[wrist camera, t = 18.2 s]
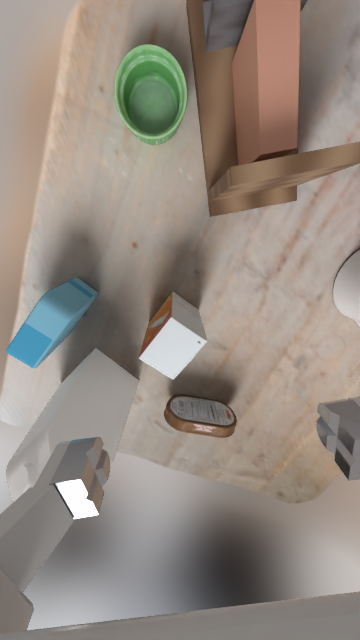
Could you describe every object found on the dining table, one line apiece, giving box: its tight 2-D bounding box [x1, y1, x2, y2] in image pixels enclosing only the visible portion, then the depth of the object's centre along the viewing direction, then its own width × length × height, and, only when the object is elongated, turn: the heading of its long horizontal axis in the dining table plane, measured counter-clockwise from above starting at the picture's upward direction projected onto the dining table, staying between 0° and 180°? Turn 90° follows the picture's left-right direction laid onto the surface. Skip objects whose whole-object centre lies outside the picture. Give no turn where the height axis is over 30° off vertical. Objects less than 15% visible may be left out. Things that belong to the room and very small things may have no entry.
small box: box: [139, 291, 207, 380], centre depth 37 cm, size 8×6×13 cm
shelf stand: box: [187, 0, 360, 217], centre depth 25 cm, size 13×24×16 cm, turn 10°
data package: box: [6, 277, 98, 368], centre depth 37 cm, size 12×4×12 cm, turn 139°
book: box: [232, 0, 300, 165], centre depth 27 cm, size 4×12×9 cm, turn 10°
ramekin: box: [114, 44, 187, 145], centre depth 30 cm, size 9×9×4 cm
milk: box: [6, 348, 139, 502], centre depth 36 cm, size 12×12×26 cm
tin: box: [164, 395, 237, 438], centre depth 47 cm, size 15×3×8 cm, turn 77°
